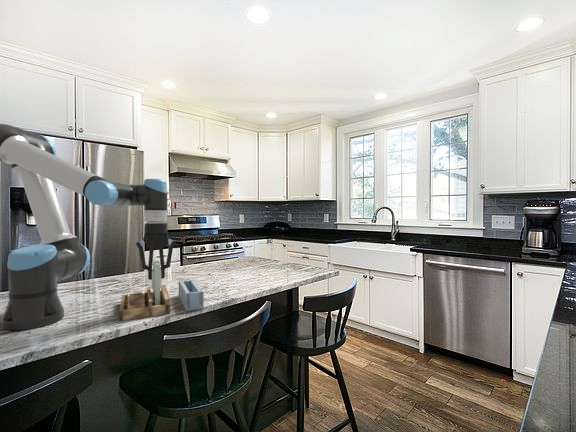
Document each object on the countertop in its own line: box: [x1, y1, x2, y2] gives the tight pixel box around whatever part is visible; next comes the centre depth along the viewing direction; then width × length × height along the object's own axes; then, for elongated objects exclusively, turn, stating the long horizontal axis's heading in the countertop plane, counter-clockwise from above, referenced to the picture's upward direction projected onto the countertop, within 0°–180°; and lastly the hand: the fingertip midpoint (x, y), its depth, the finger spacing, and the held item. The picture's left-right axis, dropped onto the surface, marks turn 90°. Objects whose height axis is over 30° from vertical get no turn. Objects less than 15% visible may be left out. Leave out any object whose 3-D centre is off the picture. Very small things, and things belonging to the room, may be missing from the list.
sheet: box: [152, 258, 161, 306], centre depth 110 cm, size 2×12×16 cm, turn 26°
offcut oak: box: [126, 299, 146, 309], centre depth 102 cm, size 5×6×4 cm
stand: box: [178, 279, 205, 312], centre depth 115 cm, size 6×20×6 cm, turn 26°
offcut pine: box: [126, 290, 146, 305], centre depth 111 cm, size 5×6×4 cm
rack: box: [118, 285, 171, 322], centre depth 108 cm, size 15×20×5 cm
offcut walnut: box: [128, 293, 144, 305], centre depth 102 cm, size 4×5×2 cm
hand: (156, 287), depth 110 cm, fingers closed on sheet, 2 cm apart
